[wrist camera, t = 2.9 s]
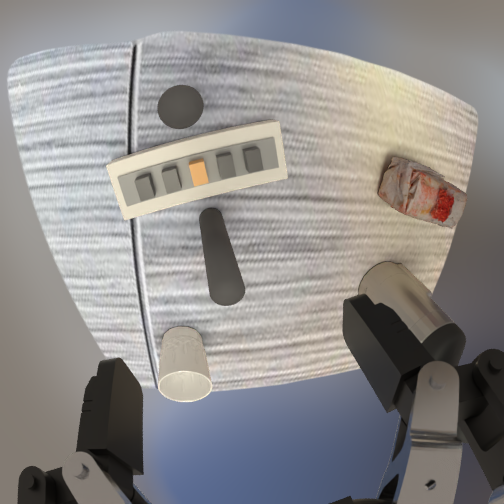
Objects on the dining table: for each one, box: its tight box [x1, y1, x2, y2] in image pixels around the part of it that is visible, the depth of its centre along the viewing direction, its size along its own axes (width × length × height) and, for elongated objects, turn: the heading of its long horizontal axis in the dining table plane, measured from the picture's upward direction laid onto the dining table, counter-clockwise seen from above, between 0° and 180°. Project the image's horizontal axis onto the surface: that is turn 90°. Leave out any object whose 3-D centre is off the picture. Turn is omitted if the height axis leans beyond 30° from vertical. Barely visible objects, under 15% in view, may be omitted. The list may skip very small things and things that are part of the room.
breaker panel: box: [106, 120, 288, 220], centre depth 33 cm, size 20×7×5 cm, turn 100°
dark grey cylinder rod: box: [199, 208, 245, 306], centre depth 32 cm, size 3×3×16 cm
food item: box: [378, 157, 467, 228], centre depth 38 cm, size 14×8×10 cm, turn 78°
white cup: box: [158, 326, 212, 402], centre depth 43 cm, size 8×8×10 cm
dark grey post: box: [158, 85, 203, 129], centre depth 24 cm, size 3×3×16 cm
